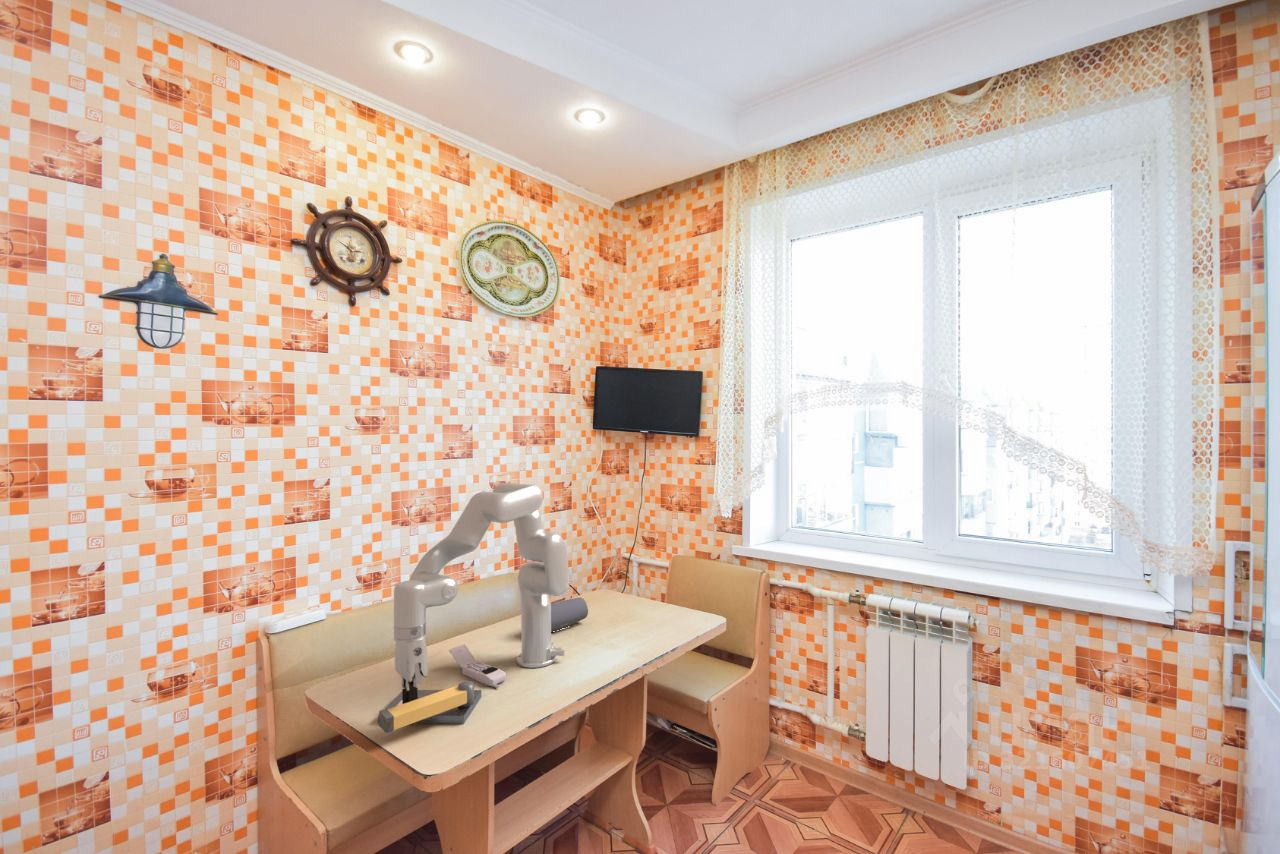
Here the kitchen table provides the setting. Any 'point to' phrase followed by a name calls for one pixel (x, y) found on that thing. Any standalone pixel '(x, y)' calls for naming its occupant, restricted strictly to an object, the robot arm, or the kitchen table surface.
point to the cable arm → (426, 706)
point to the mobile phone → (477, 667)
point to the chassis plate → (446, 717)
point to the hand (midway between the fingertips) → (410, 703)
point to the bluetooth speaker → (567, 613)
